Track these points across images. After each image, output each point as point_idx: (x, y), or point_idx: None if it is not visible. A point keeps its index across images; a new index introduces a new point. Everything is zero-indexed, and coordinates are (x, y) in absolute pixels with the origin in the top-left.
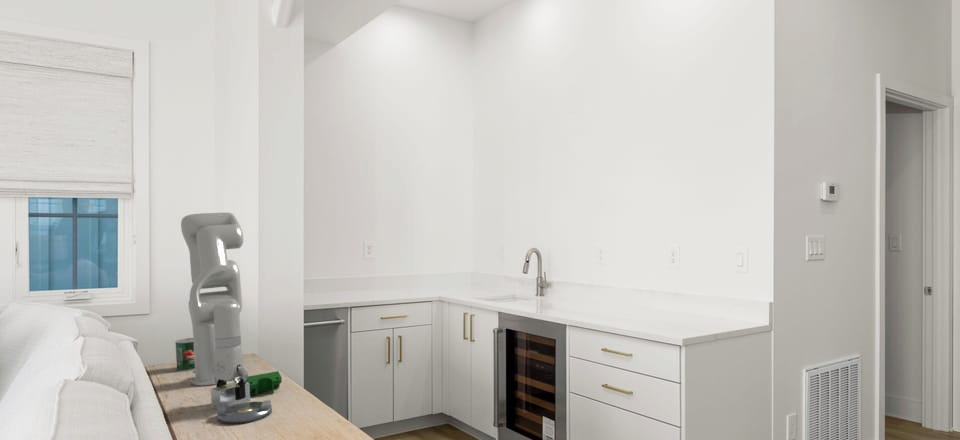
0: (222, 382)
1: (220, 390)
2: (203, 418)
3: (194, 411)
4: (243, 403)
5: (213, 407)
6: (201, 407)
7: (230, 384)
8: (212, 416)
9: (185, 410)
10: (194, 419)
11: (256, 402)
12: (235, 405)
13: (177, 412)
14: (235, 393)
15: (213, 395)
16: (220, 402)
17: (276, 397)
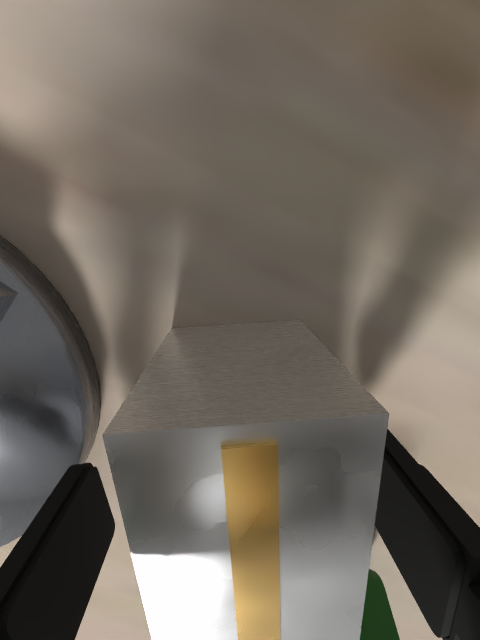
0: (457, 613)
1: (145, 463)
2: (75, 133)
3: (343, 185)
4: (53, 470)
5: (276, 323)
6: (383, 274)
7: (312, 625)
8: (69, 215)
9: (446, 147)
10: (115, 57)
11: (2, 528)
12: (50, 415)
13: (471, 64)
14: (37, 527)
15: (287, 369)
16: (156, 357)
17: (132, 612)
